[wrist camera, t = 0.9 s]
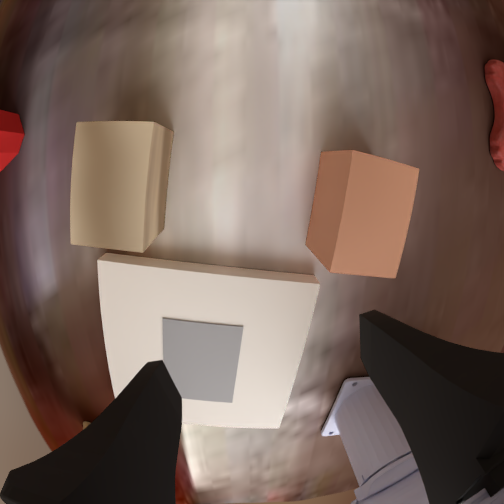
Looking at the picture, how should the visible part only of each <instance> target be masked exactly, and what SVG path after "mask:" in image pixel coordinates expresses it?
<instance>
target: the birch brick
mask: <svg viewBox="0 0 504 504" xmlns="http://www.w3.org/2000/svg"><path fill="white" fill-rule="evenodd" d="M173 135H174V132H173V131H171V130H169V129H167V128H165V127H163V126H161V125H159V124H157V123H155V122H147V121H93V122H77V124H76V132H75V140H74V150H73V161H72V176H71V201H70V230H71V244H74V245H82V246H90V247H98V248H107V249H115V250H123V251H132V252H140V253H143V252H144V251H145V250H146V249H147V248H148V246H149V245H150V244H151V243H152V242H153V241H154V240H155V238H156V237H157V236H158V235H159V234H160V233H161V232H162V231H163V229H164V223H165V209H166V197H167V186H168V176H169V167H170V158H171V150H172V142H173Z"/></svg>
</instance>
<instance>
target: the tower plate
mask: <svg viewBox="0 0 504 504" xmlns="http://www.w3.org/2000/svg"><path fill="white" fill-rule="evenodd" d="M97 263H98V282H99V295H100V306H101V316H102V325H103V333H104V340H105V347H106V354H107V360H108V365H109V371H110V376H111V382H112V386H113V391H114V396H115V398H116V397H117V396H118V395H119V394H120V393H121V392H122V390H123V389H124V388H125V387H126V386H127V385H128V383H129V382H130V381H131V380H132V379H133V378H134V376H135V375H136V374H137V373H138V372H139V371H140V370H141V368H142V367H143V366H144V365H145V364H146V363H147V362H151V361H158V360H163V362H164V364H165V366H166V368H167V370H168V372H169V374H170V376H171V378H172V380H173V382H174V384H175V386H176V388H177V390H178V391H179V393H180V395H181V397H182V423H185V424H194V425H205V426H217V427H234V428H279V427H280V424H281V421H282V418H283V415H284V412H285V409H286V406H287V403H288V400H289V397H290V394H291V390H292V387H293V384H294V381H295V377H296V374H297V371H298V367H299V364H300V360H301V357H302V353H303V350H304V346H305V343H306V339H307V335H308V332H309V328H310V324H311V320H312V316H313V313H314V309H315V305H316V301H317V297H318V292H319V288H320V283H319V281H318V280H317V278H316V277H315V276H314V275H307V274H297V273H286V272H276V271H266V270H256V269H246V268H237V267H227V266H218V265H208V264H199V263H190V262H181V261H172V260H164V259H155V258H147V257H138V256H130V255H122V254H113V253H105V254H104V255H103V256H101V257H100V258H99V259H98V260H97Z"/></svg>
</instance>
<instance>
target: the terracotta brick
mask: <svg viewBox="0 0 504 504" xmlns="http://www.w3.org/2000/svg"><path fill="white" fill-rule="evenodd" d="M418 174H419V169H418V168H415V167H412V166H408V165H405V164H402V163H399V162H395V161H392V160H389V159H385V158H382V157H378V156H374V155H371V154H367V153H363V152H359V151H355V150H341V151H326V152H321V156H320V163H319V169H318V176H317V182H316V188H315V194H314V200H313V206H312V212H311V217H310V223H309V228H308V234H307V239H306V244H305V245H306V246H307V247H308V248H309V249H310V250H311V251H312V253H313V254H314V255H315V256H316V257H317V258H318V259H319V261H320V262H321V263H322V264H323V265H324V266H325V267H326V269H327V270H328V271H329V272H331V273H341V274H352V275H363V276H374V277H385V278H396V274H397V271H398V267H399V263H400V260H401V256H402V252H403V248H404V244H405V240H406V236H407V232H408V227H409V223H410V218H411V213H412V208H413V203H414V198H415V192H416V187H417V181H418Z"/></svg>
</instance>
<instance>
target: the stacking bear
mask: <svg viewBox="0 0 504 504" xmlns="http://www.w3.org/2000/svg"><path fill="white" fill-rule="evenodd" d="M485 79H486V83H487V86H488V88H489V90H490V93H491V96H492V99H493V103H494V111H495V119H494V125H493V128H492V131H491V134H490V153H491V156H492V158H493V160H494V163H495V165H496V166H497V167H498V168H499V169H500V170H502V171H504V63H503V62H502V61H499V60H495V59H492V60H489V61H488V62H487V64H485Z"/></svg>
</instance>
